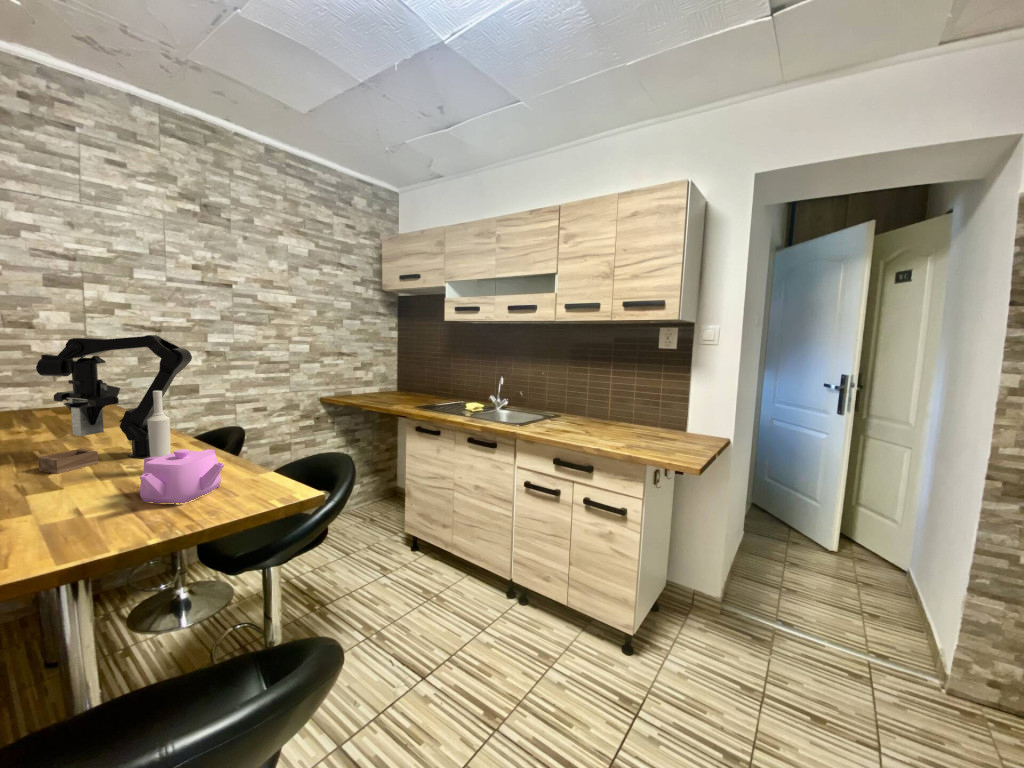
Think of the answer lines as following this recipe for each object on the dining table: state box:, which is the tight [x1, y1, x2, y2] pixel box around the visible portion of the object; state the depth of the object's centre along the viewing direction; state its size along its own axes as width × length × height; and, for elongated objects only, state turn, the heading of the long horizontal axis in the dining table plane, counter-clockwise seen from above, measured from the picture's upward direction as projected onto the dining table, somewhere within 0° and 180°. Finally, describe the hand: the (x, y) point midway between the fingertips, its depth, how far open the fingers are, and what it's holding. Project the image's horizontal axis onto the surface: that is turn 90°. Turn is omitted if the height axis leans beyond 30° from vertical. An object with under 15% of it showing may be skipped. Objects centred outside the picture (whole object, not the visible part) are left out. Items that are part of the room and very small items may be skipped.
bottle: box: [147, 391, 172, 457], centre depth 122 cm, size 5×5×25 cm
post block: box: [37, 448, 99, 475], centre depth 122 cm, size 7×10×4 cm
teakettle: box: [139, 448, 225, 504], centre depth 108 cm, size 17×17×12 cm
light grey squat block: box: [70, 406, 105, 437], centre depth 131 cm, size 4×6×9 cm, turn 168°
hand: (88, 424), depth 131 cm, fingers closed on light grey squat block, 3 cm apart
